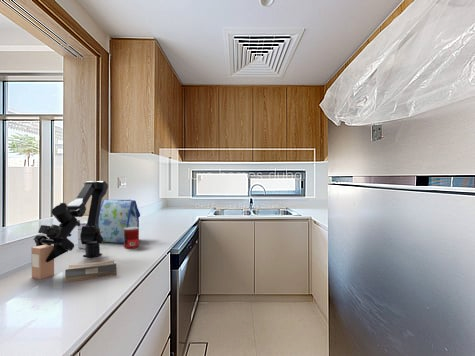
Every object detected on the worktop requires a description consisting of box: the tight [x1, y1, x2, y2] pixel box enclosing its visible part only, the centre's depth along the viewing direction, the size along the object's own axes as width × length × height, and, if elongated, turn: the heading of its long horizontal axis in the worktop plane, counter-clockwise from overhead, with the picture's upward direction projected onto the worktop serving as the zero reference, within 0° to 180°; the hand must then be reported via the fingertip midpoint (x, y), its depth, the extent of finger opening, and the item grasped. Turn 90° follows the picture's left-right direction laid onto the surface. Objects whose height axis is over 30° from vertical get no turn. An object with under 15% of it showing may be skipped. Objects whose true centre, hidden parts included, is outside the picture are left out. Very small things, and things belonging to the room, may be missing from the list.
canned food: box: [123, 226, 140, 249], centre depth 168 cm, size 8×8×11 cm
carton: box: [31, 244, 55, 280], centre depth 119 cm, size 6×6×12 cm
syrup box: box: [77, 220, 88, 249], centre depth 169 cm, size 6×6×14 cm
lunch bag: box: [98, 199, 141, 244], centre depth 185 cm, size 22×17×26 cm
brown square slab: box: [64, 259, 117, 283], centre depth 123 cm, size 18×18×4 cm
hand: (39, 260), depth 118 cm, fingers open, 8 cm apart
